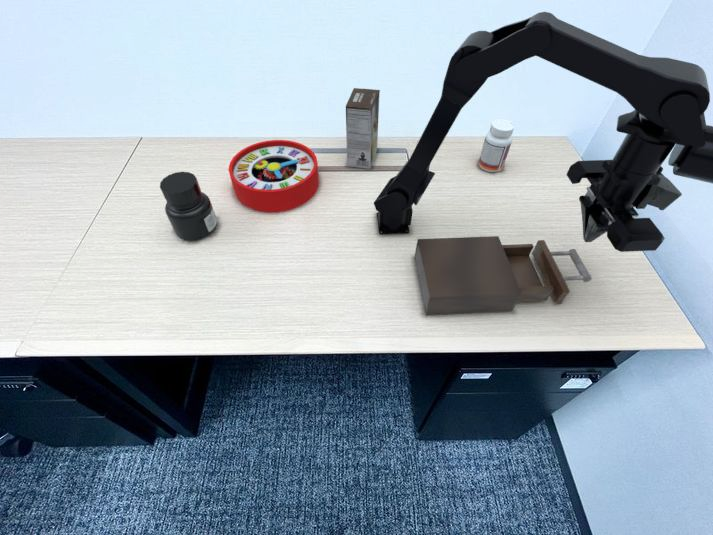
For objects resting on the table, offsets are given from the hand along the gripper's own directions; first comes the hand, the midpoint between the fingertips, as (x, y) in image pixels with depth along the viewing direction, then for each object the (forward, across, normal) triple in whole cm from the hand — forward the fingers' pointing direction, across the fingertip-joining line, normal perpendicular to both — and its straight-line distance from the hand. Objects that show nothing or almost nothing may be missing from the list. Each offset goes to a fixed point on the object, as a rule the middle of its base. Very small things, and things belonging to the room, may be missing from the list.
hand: (587, 240), depth 68 cm
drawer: (+10, 0, +8) cm, 12 cm away
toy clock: (+11, +32, +57) cm, 66 cm away
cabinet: (+11, 0, +20) cm, 22 cm away
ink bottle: (+11, +18, +73) cm, 76 cm away
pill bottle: (+11, +37, +4) cm, 39 cm away
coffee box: (+11, +42, +36) cm, 56 cm away
